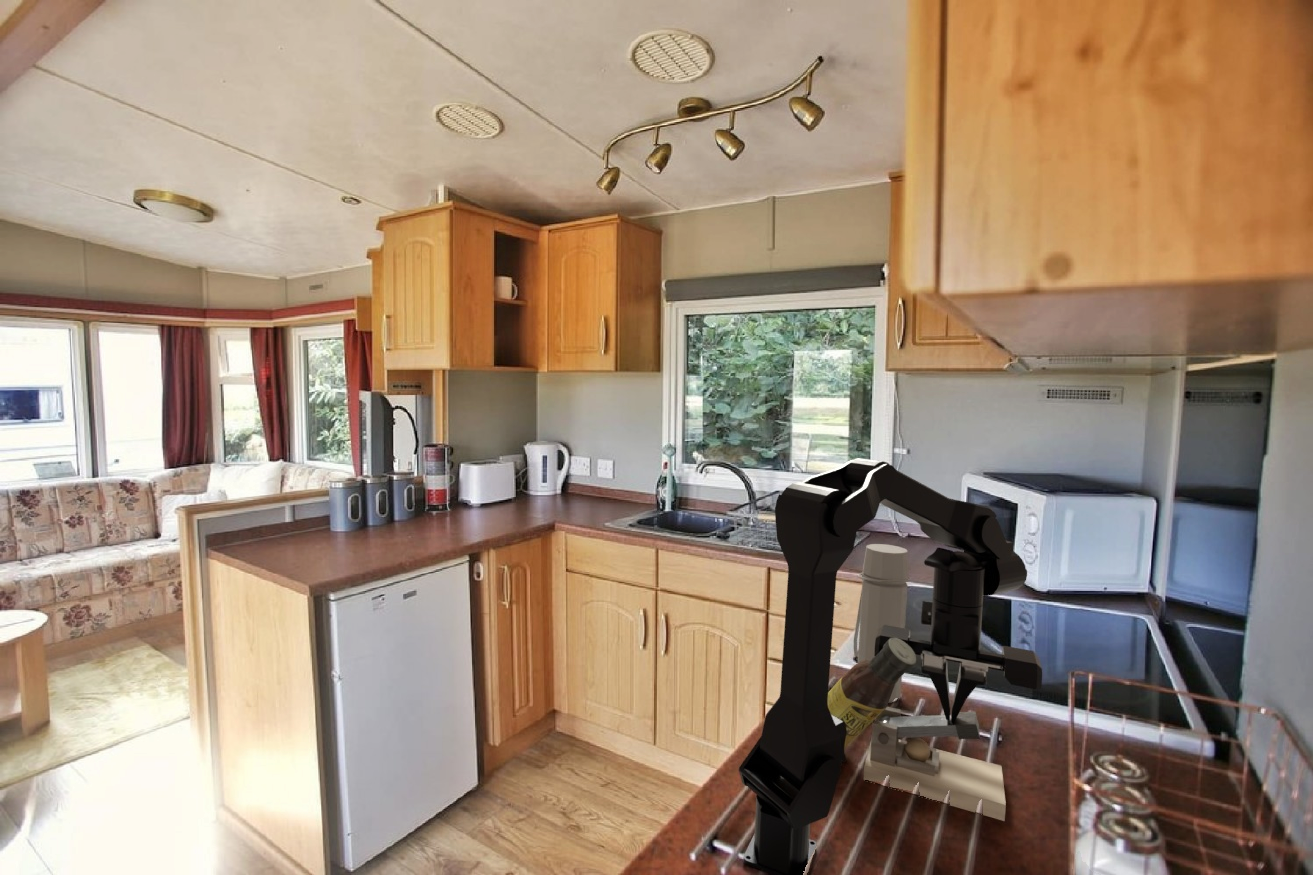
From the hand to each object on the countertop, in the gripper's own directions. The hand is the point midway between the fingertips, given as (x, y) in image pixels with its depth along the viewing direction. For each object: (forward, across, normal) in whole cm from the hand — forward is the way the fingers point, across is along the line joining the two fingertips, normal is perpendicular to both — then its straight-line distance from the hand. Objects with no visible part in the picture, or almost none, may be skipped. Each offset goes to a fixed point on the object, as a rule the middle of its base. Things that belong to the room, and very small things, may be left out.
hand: (950, 719), depth 79 cm
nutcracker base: (+9, +2, 0) cm, 9 cm away
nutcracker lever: (+2, +2, 0) cm, 3 cm away
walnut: (+5, +4, 0) cm, 6 cm away
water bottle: (+9, +12, -22) cm, 26 cm away
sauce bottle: (+7, +16, 0) cm, 18 cm away
